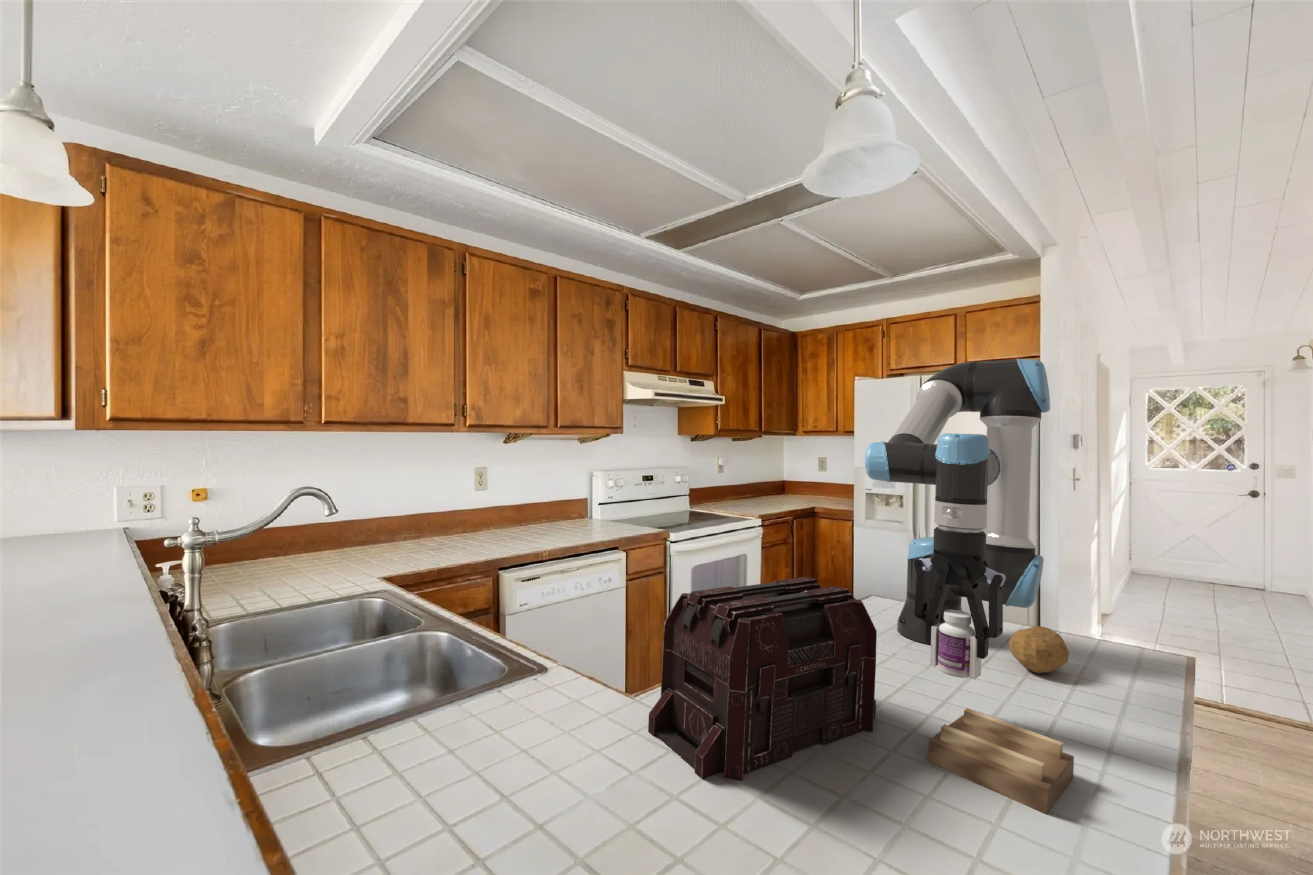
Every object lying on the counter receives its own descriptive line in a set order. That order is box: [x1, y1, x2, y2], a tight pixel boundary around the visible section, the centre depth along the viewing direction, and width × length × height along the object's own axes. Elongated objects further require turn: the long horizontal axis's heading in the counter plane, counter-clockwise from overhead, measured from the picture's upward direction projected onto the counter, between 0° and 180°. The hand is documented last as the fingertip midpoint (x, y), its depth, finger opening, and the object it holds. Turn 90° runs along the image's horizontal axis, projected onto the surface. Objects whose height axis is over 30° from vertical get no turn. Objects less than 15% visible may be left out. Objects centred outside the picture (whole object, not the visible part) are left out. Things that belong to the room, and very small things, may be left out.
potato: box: [1008, 625, 1070, 674], centre depth 114 cm, size 10×14×8 cm
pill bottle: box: [937, 610, 976, 679], centre depth 92 cm, size 5×5×10 cm
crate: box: [647, 576, 878, 782], centre depth 87 cm, size 35×19×21 cm, turn 122°
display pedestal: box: [927, 708, 1075, 815], centre depth 77 cm, size 14×12×5 cm
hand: (955, 669), depth 92 cm, fingers closed on pill bottle, 5 cm apart
